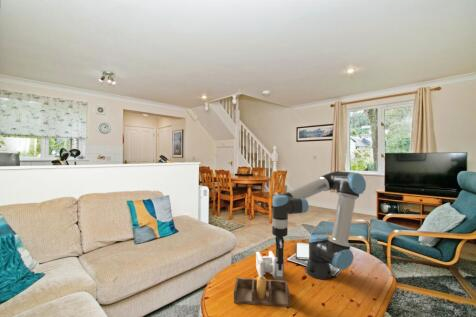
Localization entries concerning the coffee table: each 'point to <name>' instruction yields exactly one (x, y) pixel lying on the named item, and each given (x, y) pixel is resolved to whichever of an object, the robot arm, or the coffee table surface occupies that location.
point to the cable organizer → (265, 263)
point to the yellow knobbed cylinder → (261, 287)
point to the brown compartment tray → (274, 292)
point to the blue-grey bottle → (276, 271)
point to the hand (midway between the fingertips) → (279, 273)
